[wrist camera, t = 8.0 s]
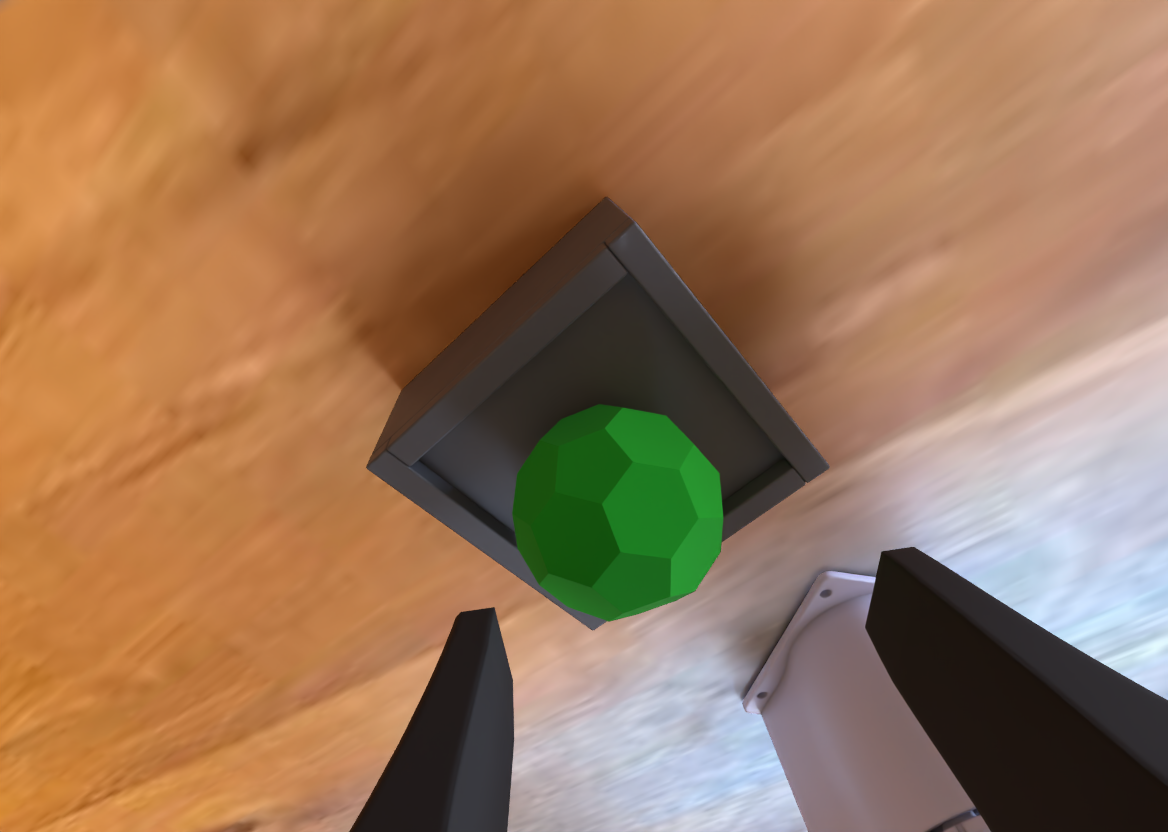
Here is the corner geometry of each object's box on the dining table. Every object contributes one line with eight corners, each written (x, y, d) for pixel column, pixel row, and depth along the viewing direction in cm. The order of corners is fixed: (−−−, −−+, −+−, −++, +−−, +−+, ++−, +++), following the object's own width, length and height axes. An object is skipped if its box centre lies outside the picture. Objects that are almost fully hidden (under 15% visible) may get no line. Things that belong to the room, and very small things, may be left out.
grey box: (767, 396, 19) (831, 468, 15) (580, 537, 22) (592, 631, 18) (606, 195, 16) (634, 220, 12) (400, 390, 18) (364, 468, 14)
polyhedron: (504, 382, 14) (495, 495, 10) (694, 364, 14) (766, 466, 10) (527, 534, 16) (527, 677, 12) (689, 515, 16) (744, 650, 12)
